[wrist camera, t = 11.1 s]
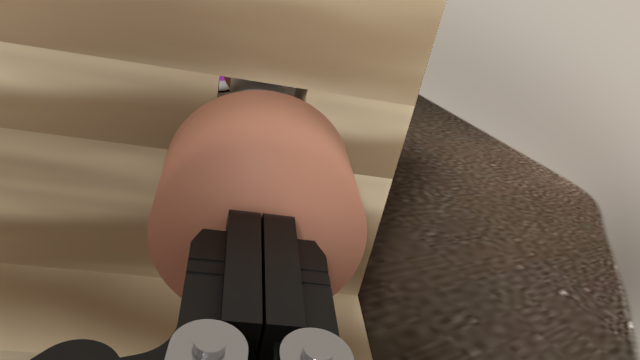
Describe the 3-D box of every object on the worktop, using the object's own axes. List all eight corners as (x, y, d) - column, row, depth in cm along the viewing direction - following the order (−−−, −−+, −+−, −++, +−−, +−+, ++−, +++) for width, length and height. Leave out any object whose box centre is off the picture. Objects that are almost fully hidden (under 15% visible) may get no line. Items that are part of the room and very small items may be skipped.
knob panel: (367, 399, 20) (495, 33, 14) (-480, 350, 16) (-838, -214, 10) (341, 271, 26) (422, -24, 20) (-277, 210, 22) (-417, -192, 16)
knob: (341, 329, 15) (391, 159, 13) (141, 313, 14) (154, 126, 12) (304, 123, 26) (327, 12, 24) (190, 106, 25) (202, -11, 23)
